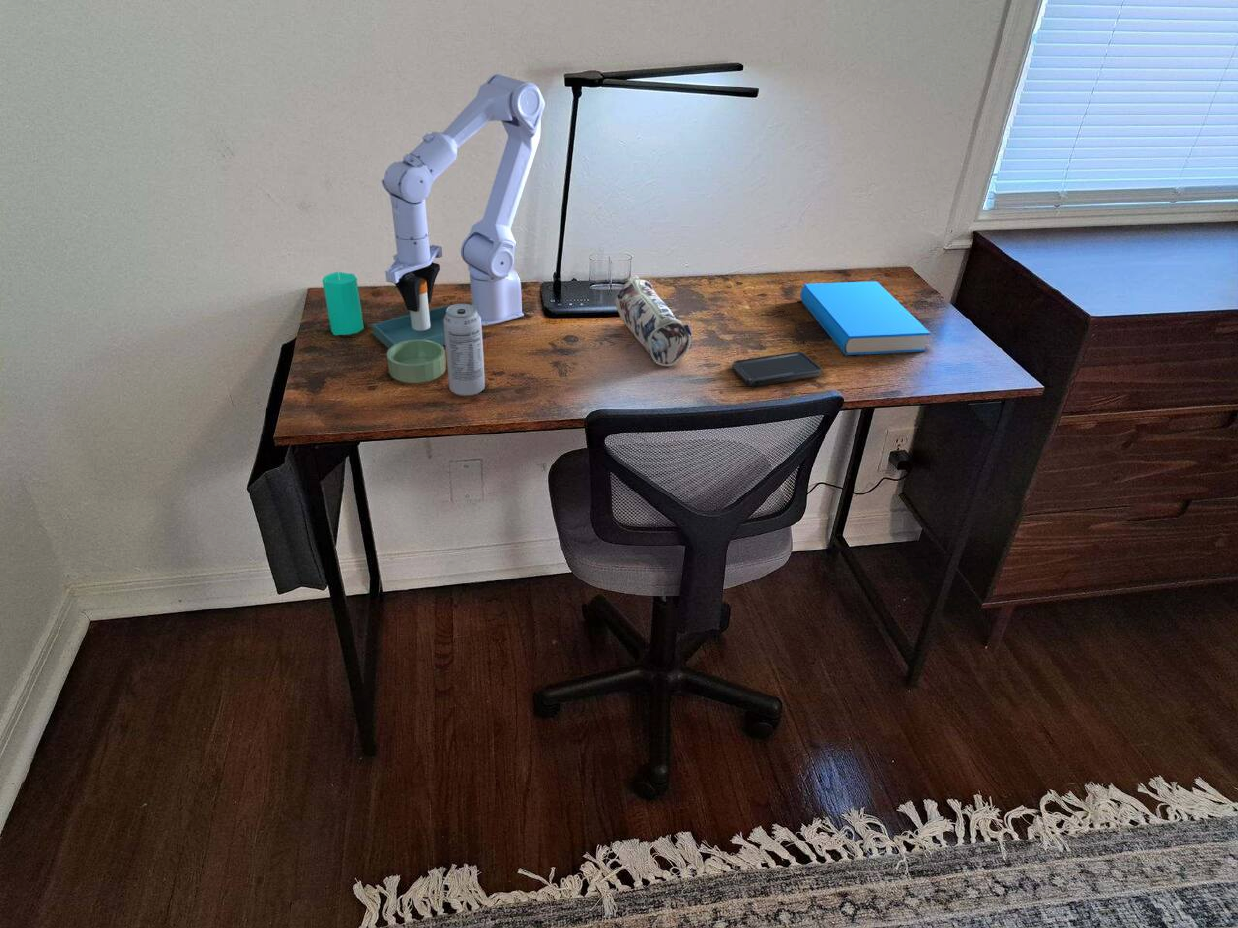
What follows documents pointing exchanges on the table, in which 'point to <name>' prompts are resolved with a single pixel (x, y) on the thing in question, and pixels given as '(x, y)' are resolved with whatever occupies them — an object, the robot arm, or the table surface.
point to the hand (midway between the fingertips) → (419, 306)
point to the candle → (343, 303)
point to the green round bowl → (416, 361)
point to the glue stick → (421, 310)
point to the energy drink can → (464, 349)
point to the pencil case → (652, 322)
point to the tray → (411, 329)
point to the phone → (776, 368)
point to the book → (864, 318)
